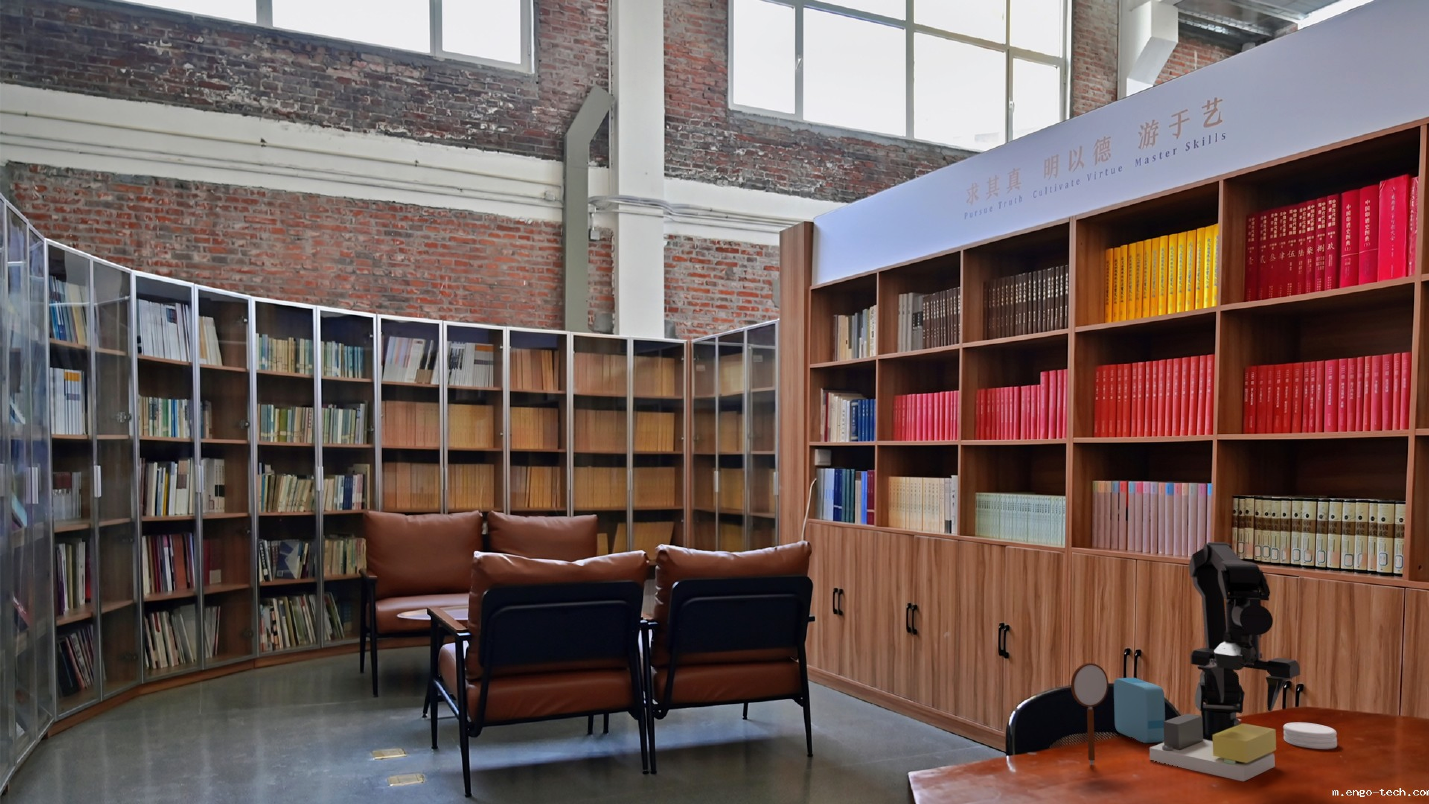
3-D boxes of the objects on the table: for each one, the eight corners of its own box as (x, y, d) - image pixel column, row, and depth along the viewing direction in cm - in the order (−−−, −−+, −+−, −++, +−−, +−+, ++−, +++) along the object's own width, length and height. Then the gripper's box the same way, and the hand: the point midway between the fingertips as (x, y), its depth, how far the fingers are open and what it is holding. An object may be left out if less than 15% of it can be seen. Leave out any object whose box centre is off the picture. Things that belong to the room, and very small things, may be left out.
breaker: (1164, 748, 201) (1163, 721, 202) (1188, 738, 208) (1187, 713, 209) (1179, 751, 199) (1178, 724, 199) (1203, 741, 206) (1202, 715, 207)
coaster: (1286, 735, 221) (1285, 719, 221) (1339, 742, 215) (1338, 726, 215) (1281, 745, 213) (1280, 728, 213) (1335, 752, 207) (1334, 735, 207)
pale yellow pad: (1213, 755, 193) (1212, 734, 193) (1243, 743, 202) (1242, 723, 202) (1246, 763, 188) (1246, 741, 188) (1276, 749, 197) (1275, 729, 197)
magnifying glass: (1106, 761, 199) (1104, 661, 201) (1112, 764, 198) (1110, 662, 199) (1070, 765, 197) (1068, 663, 198) (1076, 768, 195) (1073, 664, 196)
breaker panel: (1149, 760, 200) (1149, 744, 200) (1183, 747, 210) (1182, 732, 210) (1243, 781, 187) (1242, 764, 187) (1274, 766, 196) (1274, 750, 197)
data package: (1166, 744, 213) (1164, 687, 214) (1147, 745, 212) (1145, 688, 213) (1132, 730, 225) (1130, 676, 225) (1114, 731, 224) (1113, 677, 225)
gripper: (1176, 625, 199) (1179, 704, 198) (1276, 637, 185) (1280, 722, 184) (1201, 620, 206) (1204, 696, 205) (1299, 631, 192) (1302, 713, 191)
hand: (1245, 706), depth 196 cm, fingers open, 9 cm apart
